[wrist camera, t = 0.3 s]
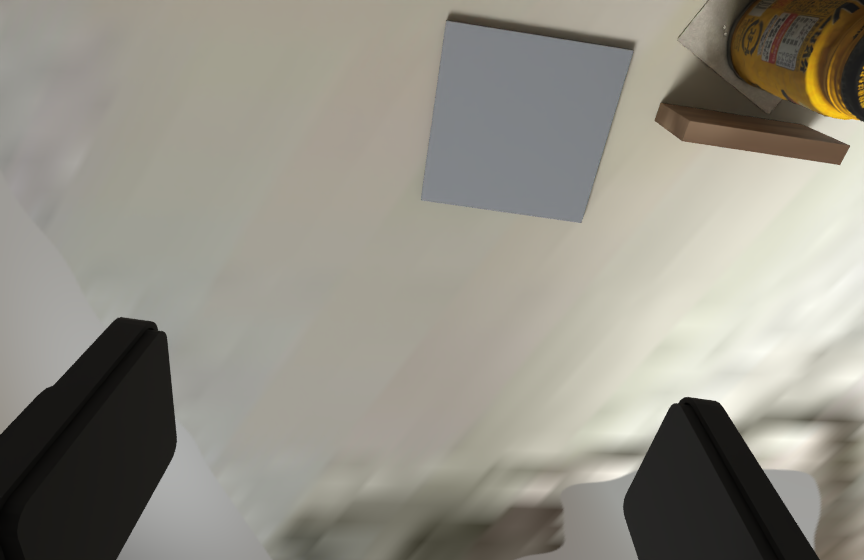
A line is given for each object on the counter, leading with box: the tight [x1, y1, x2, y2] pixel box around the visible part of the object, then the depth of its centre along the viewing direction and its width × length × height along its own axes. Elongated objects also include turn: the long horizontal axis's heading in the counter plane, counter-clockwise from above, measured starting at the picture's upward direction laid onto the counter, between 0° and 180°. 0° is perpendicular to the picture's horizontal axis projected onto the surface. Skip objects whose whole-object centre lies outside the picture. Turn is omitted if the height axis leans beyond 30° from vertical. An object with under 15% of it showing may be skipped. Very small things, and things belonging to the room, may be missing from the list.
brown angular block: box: [655, 103, 850, 165], centre depth 32 cm, size 13×10×5 cm
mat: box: [421, 20, 633, 223], centre depth 38 cm, size 12×12×1 cm
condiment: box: [677, 0, 864, 121], centre depth 29 cm, size 7×8×12 cm
